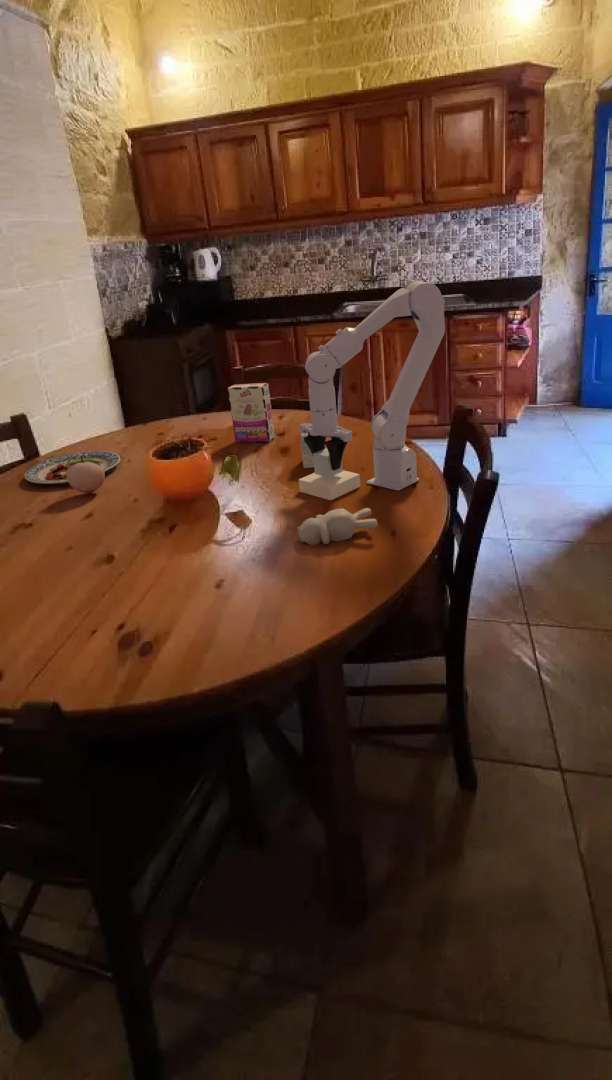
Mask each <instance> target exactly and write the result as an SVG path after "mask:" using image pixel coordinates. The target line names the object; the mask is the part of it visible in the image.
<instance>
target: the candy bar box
mask: <svg viewBox="0 0 612 1080" xmlns="http://www.w3.org/2000/svg"><path fill="white" fill-rule="evenodd" d="M269 385H270V384H269V382H262V383H261V382H260V383H258V382H257V383H241V384H240V383H238V384H237V383H236V384H232V385H230V386H229V387H227V393H228V401H229V409H230V413H231V421H232V426H233V427H232V428H233V433H234V439H235V443H236V444H237V443H238V444H239V443H243V444H244V443H271V442H272V441H273V440H274V439H275V438H276V432H275V425H274V418H273V417H274V416H273V410H272V403H271V401H272V400H271V394H270V387H269Z"/></svg>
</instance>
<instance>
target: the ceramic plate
mask: <svg viewBox="0 0 612 1080" xmlns="http://www.w3.org/2000/svg"><path fill="white" fill-rule="evenodd" d="M81 456H82V458H83V460H85V459H88V458H96V459H99V460H101V461H102V462H103V463H101V462H99V463H100V464H101V465H102V467H103V469H104V472H105V473H106V472H107V471H110V470H111V469H113V468H114V467H116V466H117V465H118V464H119V463H120V461H121V456H120V455H119V454H117V453H116V452H112V451H106V450H91V451H90V450H89V451H81V452H80V451H79V452H74V453H68V454H64V455H60V456H56V457H53V458H50V459H47V460H44V461H41V462H39V463H37V464H35V465H34V466H31V467H30V468H29V469H27V470H26V472H25V473H24V479H25V480H26V481H28V482H30V483H35V484H44V485H45V484H47V485H48V484H49V485H53V484H57V485H58V484H67V483H68V484H69V482H68V480H67V469H68V467H69V466H70V465H71V464H70V465H68V466H66V467H65V468H64V466H65V465H66V464H67V463H69V462H71V461H74V460H80V461H82V460H81Z"/></svg>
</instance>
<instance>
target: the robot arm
mask: <svg viewBox="0 0 612 1080" xmlns="http://www.w3.org/2000/svg"><path fill="white" fill-rule="evenodd" d="M445 303H446V302H445V298H444V297H443V295H442V293H441V291H440V289H439V287H438V286H436V285H435V284H434V283H432V282H424V280H421V279H413V280H410V281H409V282H407V283H406V285H404V286H403V287H401V288H399V289H397V290H396V291H395V292H393V294H391V295H389V297H388V298H387V299H386V300H385V301H383V302H382V303H381V304H380V305H379V306H377V307H376V309H374V310H373V311H372V312H371V313H369V315H368V316H366V317H365V318H364V319H363V320H362V321H361V322H360V323H358V324H357V325H356V326H355V327H349V326H348V327H347V326H346V327H345V328H344V329H341V328H338V329H337V330H336V331H335V334H336V335H335V336H334V337H333V338H331V339H330V340H328V342H327V343H325V344H324V345H322V344H321V345H320V346H318V347H317V349H318V350H319V351H314V352H311V353H310V354H309V355H308V357H307V358H306V360H305V364H304V369H305V372H306V373H307V375H308V381H307V383H308V400H309V408H310V410H309V411H310V420H311V423H308V422H304V423H301V424H299V433H300V434H301V433H308V435H307V437H305V438H304V441H305V443H306V444H307V445H308V447H309V449H310V451H311V453H312V455H313V453H315V452H318V451H320V450H323V449H325V448H327V449H328V452H329V456H330V462H331V467H332V470H337V469H339V468H340V466H341V460H342V459H343V456H344V451H345V449H346V447H347V445H348V442H351V441H352V440H353V431H352V430H349V429H345V428H343V427H341V426H339V425H338V415H337V414H338V413H337V412H338V411H337V403H336V402H337V401H336V399H337V398H336V389H335V386H334V376H335V374H336V370H337V369H340V368H342V367H343V366H344V365H345V364H347V362H349V361H350V360H351V359H353V358H354V357H355V356H356V355H358V353H360V352H361V351H362V350H363V347H364V342H365V340H367V339H368V338H369V337H371V336H372V335H374V334H375V333H377V331H379V330H380V329H381V328H383V327H384V326H385V325H386V324H388V323H389V322H390V321H392V320H393V319H394V318H398V317H399V318H400V317H409V316H412V317H413V319H414V322H415V325H416V327H417V330H418V333H417V335H416V338H415V340H414V342H413V344H412V346H411V349H410V350H409V353H408V355H407V358H406V360H405V362H404V364H403V367H402V368H401V371H400V373H399V375H398V378H397V380H396V383H395V385H394V386H393V389H392V391H391V393H390V396H389V398H388V399H387V400H386V402H384V403H383V404H382V407H381V409H380V411H378V413H377V414H375V415H374V416H373V418H372V420H371V422H370V428H371V431H372V433H373V435H375V439H374V440H373V443H372V451H373V452H372V453H373V455H372V456H373V474H374V477H372V478H371V479H368V480H367V481H366V483H367V484H369V485H374V486H377V487H382V488H386V489H388V490H393V491H398V492H399V491H401V490H402V489H405V488H407V487H409V486H411V485H412V484H415V483H417V482H418V481H420V478H419V477H418V473H417V471H418V469H417V467H418V466H417V464H418V463H417V460H418V459H417V453H416V452H415V450H414V449H412V448H410V447H408V446H407V444H405V443H406V442H405V441H406V437H407V427H408V423H409V422H410V409H411V408H412V405H413V403H414V401H415V398H416V396H417V394H418V392H419V390H420V387H421V386H422V383H423V381H424V379H425V377H426V375H427V372H428V370H429V368H430V366H431V364H432V362H433V359H434V357H435V355H436V354H437V350H438V348H439V346H440V345H441V341H442V340H443V337H444V336H445V332H446V325H445V324H446V323H445V321H446V320H445ZM327 438H329V439H328V440H326V439H327Z"/></svg>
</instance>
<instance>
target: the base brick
mask: <svg viewBox="0 0 612 1080" xmlns="http://www.w3.org/2000/svg"><path fill="white" fill-rule="evenodd" d="M342 471H343V472H341V473H339V474H336V475H334V476H332V477H329V478H328V477H324V476H320V475H316V474H315V472H312V473H310V474H308V475H306V476H304V477H300V478H298V486H299V492H300V493H303V494H307V495H311V496H314V497H316V498H317V497H318V498H321V499H324V500H327V501H333V500H334V499H336V498H339V497H341V496H343V495H346V494H348V493H349V492H351V491H354V490H356V489H358V488H360V487H361V476H360V475H361V474H359V473H356V472H352V471H348V470H343V469H342Z"/></svg>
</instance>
